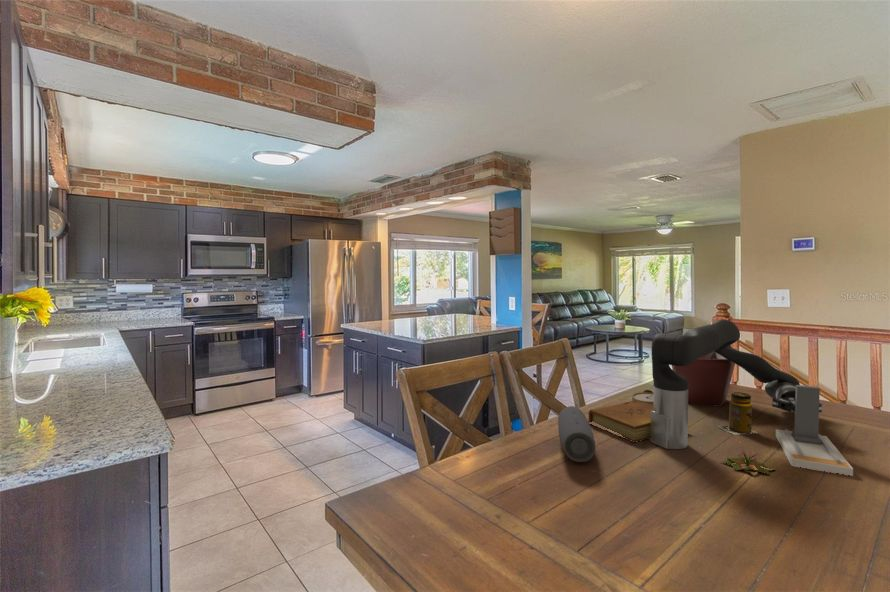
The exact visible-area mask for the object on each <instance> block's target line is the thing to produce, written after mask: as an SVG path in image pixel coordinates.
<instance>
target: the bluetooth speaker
mask: <svg viewBox="0 0 890 592" xmlns="http://www.w3.org/2000/svg"><path fill="white" fill-rule="evenodd" d="M583 412H584V411H582V410H581V409H580V408H579V407H576V406H573V405H572V406H571V405H570V406H566V407H564V408H563V409H562V410H560V412H559V414H558V417H557V425H558V426H557V428H558V435H559V440H560V443H561V446H562V449H563V452H564V453H565V454H566V456H567V457H568V458H569V459H570V460H571V461H574V462H577V463H578V462H579V463H583V462H585V463H586V462H587V461H590V460H591V459H592V458H593V457H594V455H595V452H596V441H595V438H594V434H593V429H592V427H591V425H590V424H589V419H588V418H587V417H586V415H585V413H583Z"/></svg>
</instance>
